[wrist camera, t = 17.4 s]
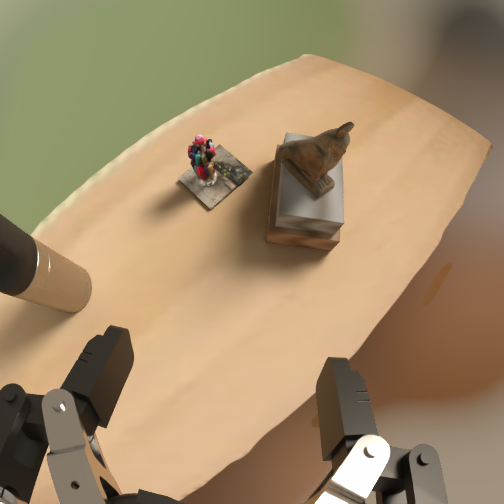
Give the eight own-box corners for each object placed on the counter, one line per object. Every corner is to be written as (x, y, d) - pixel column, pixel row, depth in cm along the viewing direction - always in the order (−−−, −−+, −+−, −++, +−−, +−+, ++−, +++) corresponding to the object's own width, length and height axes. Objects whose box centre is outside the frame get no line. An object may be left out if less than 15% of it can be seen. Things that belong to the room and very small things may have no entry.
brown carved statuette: (330, 192, 46) (384, 151, 30) (307, 206, 45) (358, 165, 29) (295, 140, 47) (333, 83, 31) (271, 151, 46) (303, 91, 30)
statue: (212, 212, 54) (196, 177, 39) (180, 182, 56) (157, 142, 41) (252, 174, 56) (250, 130, 41) (220, 147, 57) (209, 101, 42)
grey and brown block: (265, 242, 51) (271, 218, 42) (274, 159, 57) (280, 127, 48) (330, 250, 52) (350, 230, 42) (331, 169, 57) (345, 139, 48)
